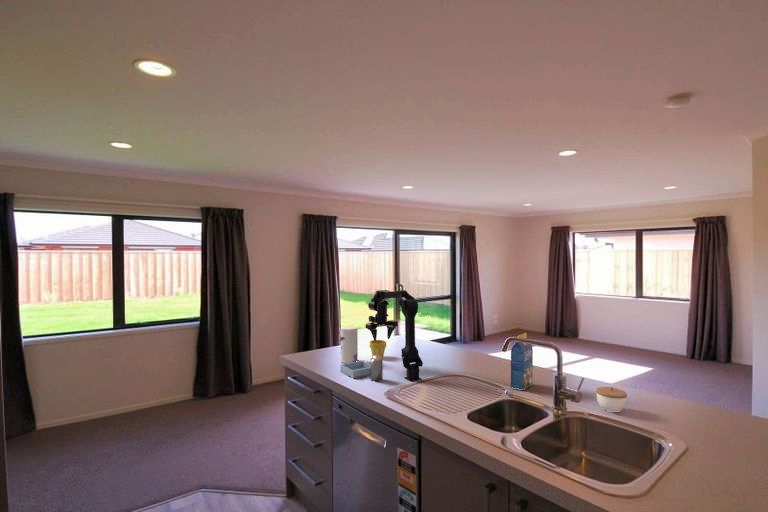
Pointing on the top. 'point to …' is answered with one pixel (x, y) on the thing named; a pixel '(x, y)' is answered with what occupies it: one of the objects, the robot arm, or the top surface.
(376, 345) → the plant pot
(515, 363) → the blue food package
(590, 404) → the top surface
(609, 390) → the lidded jar
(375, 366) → the metallic can
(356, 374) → the bin
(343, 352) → the container
